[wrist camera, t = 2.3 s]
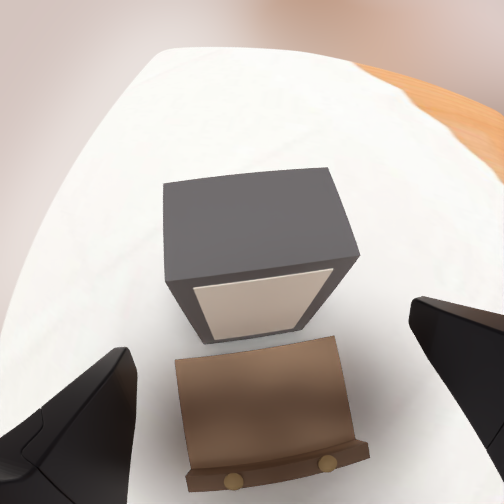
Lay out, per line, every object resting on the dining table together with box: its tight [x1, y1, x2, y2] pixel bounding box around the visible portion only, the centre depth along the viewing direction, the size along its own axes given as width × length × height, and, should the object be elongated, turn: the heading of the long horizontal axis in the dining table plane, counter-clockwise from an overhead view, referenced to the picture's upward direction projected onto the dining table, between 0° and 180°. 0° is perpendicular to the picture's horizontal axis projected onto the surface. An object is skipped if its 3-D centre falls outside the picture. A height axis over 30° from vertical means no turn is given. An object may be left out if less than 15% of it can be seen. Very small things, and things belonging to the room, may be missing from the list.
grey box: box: [163, 167, 360, 344], centre depth 15 cm, size 4×6×11 cm, turn 99°
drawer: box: [175, 336, 370, 492], centre depth 16 cm, size 8×10×4 cm
